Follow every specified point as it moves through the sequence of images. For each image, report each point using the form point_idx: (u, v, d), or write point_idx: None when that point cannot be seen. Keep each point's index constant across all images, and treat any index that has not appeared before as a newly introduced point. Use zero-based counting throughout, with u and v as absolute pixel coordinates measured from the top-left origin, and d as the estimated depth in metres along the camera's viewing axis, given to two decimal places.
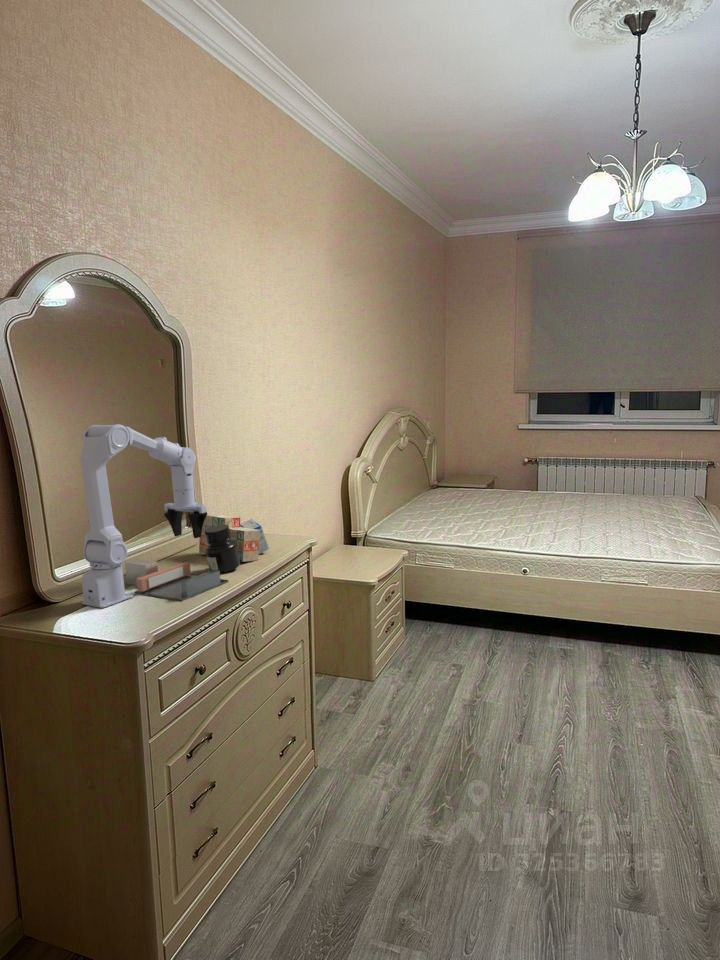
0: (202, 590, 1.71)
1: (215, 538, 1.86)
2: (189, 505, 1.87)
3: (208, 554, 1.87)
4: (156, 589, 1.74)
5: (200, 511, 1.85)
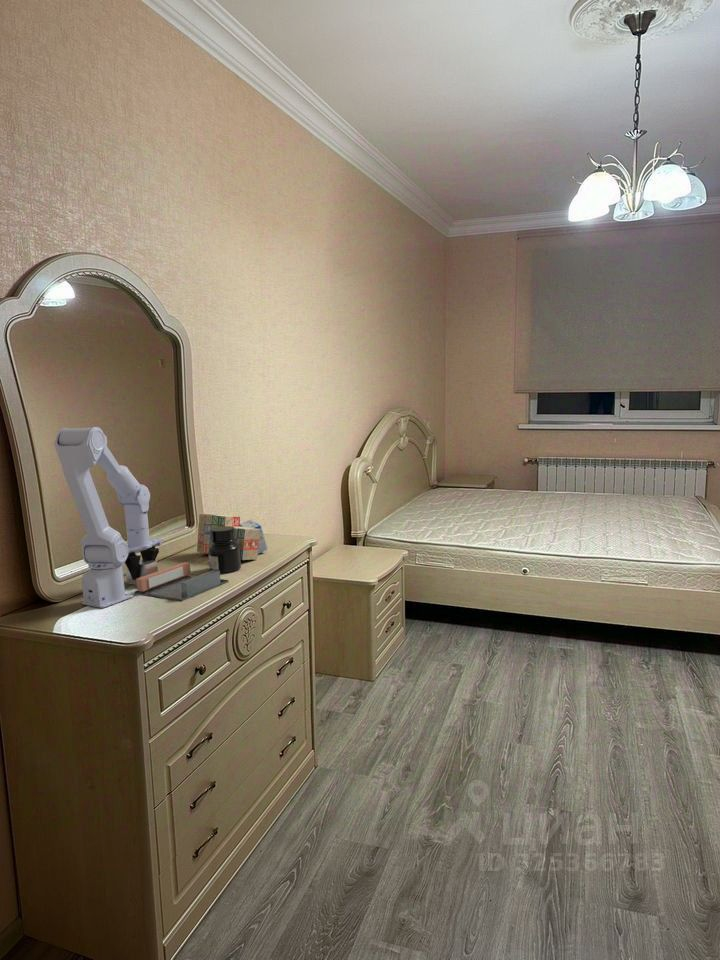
0: (202, 590, 1.71)
1: (220, 537, 1.87)
2: (128, 545, 1.79)
3: (211, 553, 1.88)
4: (156, 589, 1.74)
5: None
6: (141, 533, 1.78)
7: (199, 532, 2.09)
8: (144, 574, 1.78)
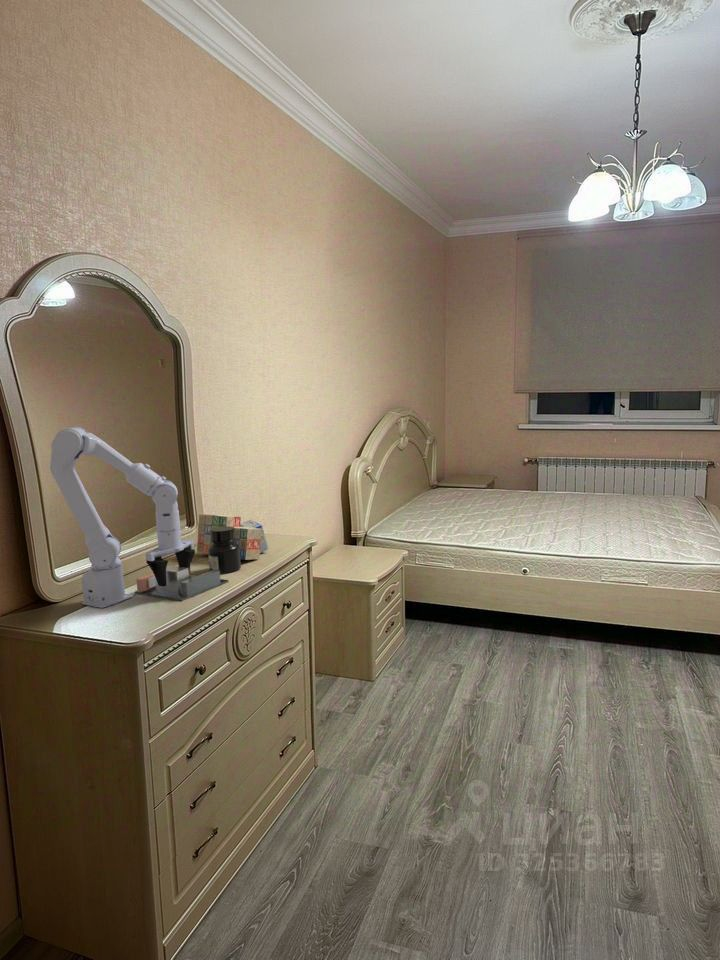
0: (202, 590, 1.71)
1: (220, 537, 1.87)
2: (159, 548, 1.68)
3: (211, 553, 1.88)
4: None
5: None
6: (173, 535, 1.67)
7: (199, 533, 2.08)
8: (175, 582, 1.68)
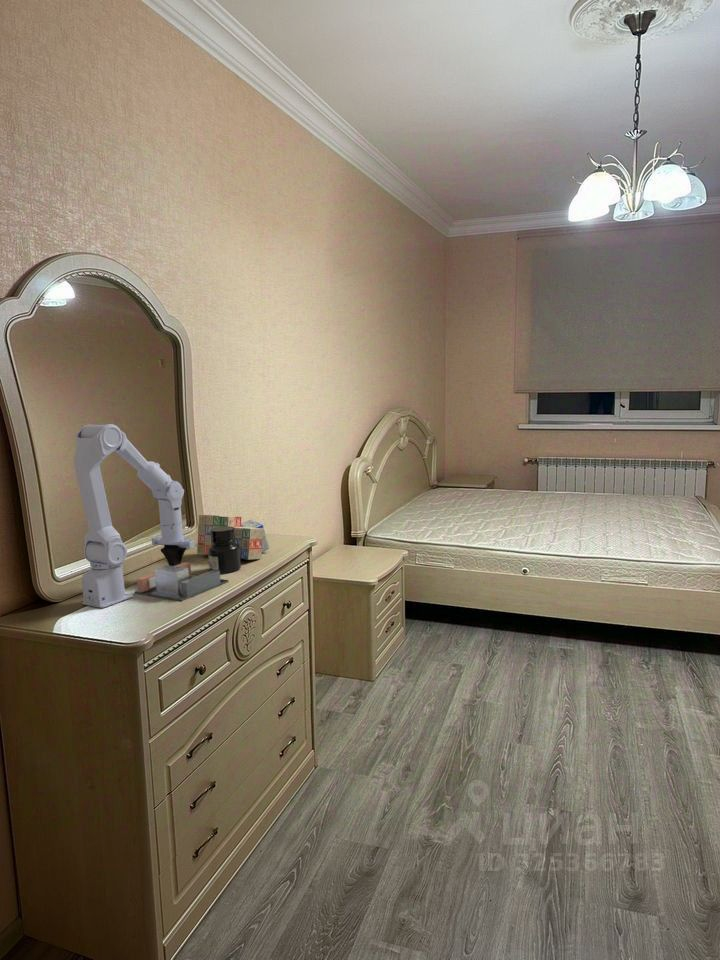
0: (202, 590, 1.71)
1: (220, 538, 1.87)
2: (177, 540, 1.82)
3: (211, 553, 1.88)
4: None
5: (188, 546, 1.80)
6: None
7: (199, 533, 2.07)
8: (175, 582, 1.68)
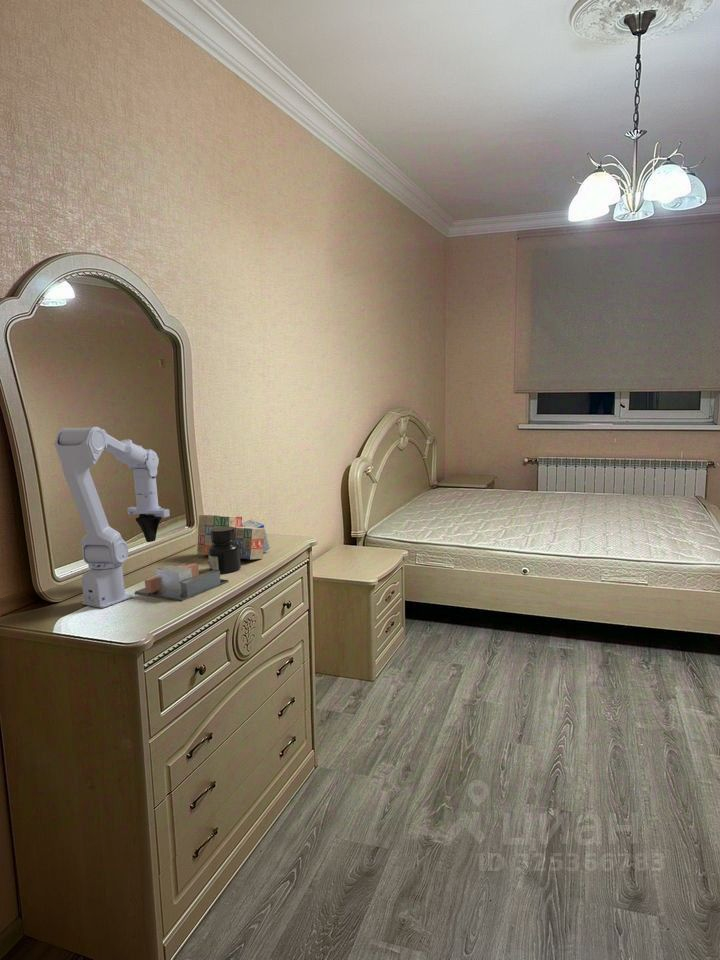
0: (202, 590, 1.71)
1: (220, 538, 1.87)
2: (152, 509, 1.82)
3: (211, 553, 1.88)
4: None
5: (163, 515, 1.80)
6: None
7: (199, 533, 2.07)
8: (177, 582, 1.67)
